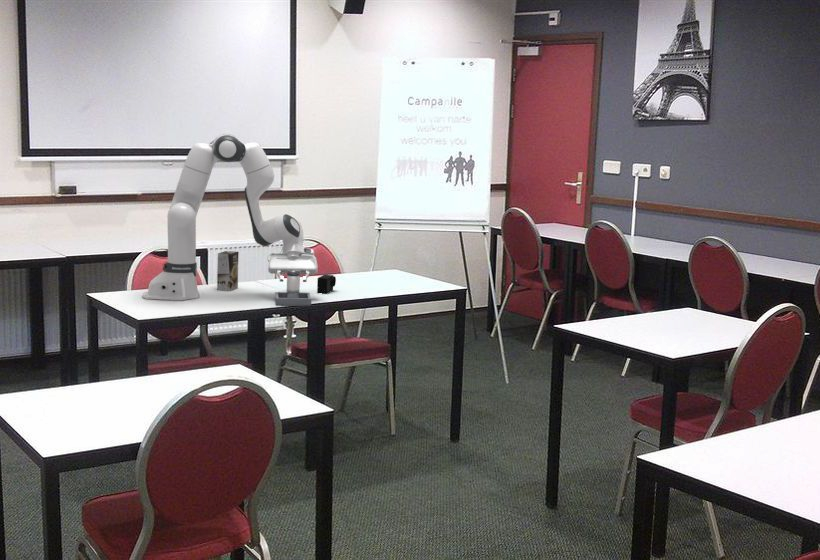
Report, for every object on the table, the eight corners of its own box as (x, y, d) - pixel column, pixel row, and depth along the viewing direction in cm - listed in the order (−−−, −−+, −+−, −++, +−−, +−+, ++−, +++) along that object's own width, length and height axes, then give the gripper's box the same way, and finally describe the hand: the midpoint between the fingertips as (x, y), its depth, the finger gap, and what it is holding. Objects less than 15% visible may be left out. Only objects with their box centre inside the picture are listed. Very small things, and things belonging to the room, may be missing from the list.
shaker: (286, 302, 387) (287, 271, 385) (285, 299, 392) (286, 269, 390) (299, 302, 388) (300, 271, 386) (299, 300, 393) (300, 269, 391)
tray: (275, 305, 382) (276, 298, 382) (275, 299, 396) (275, 292, 395) (311, 306, 384) (311, 298, 384) (309, 299, 398) (309, 292, 398)
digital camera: (329, 294, 413) (329, 278, 412) (317, 293, 414) (317, 277, 413) (335, 290, 423) (336, 275, 422) (323, 289, 424) (324, 274, 423)
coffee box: (230, 291, 410) (231, 253, 407) (216, 290, 411) (217, 252, 409) (238, 288, 419) (239, 251, 416) (224, 286, 420) (225, 250, 417)
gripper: (267, 248, 395) (267, 276, 387) (317, 250, 398) (318, 276, 390) (267, 258, 400) (267, 285, 392) (316, 259, 403) (317, 285, 395)
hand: (293, 281), depth 391 cm, fingers open, 8 cm apart
